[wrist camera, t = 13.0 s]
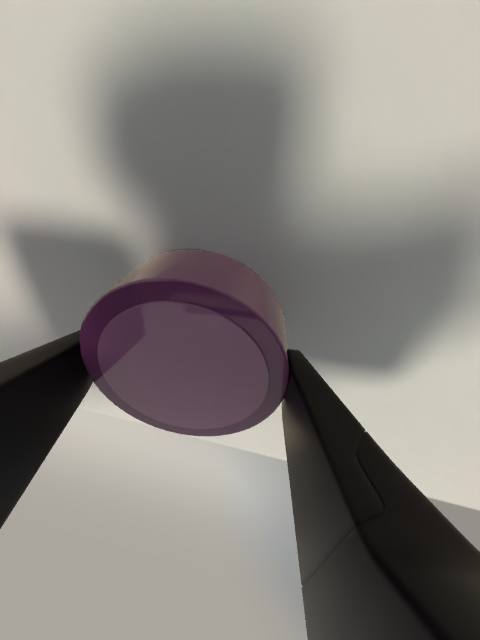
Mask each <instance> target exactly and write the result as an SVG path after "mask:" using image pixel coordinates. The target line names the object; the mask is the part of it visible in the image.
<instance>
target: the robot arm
mask: <svg viewBox="0 0 480 640" xmlns="http://www.w3.org/2000/svg"><path fill="white" fill-rule="evenodd" d="M79 338H80V331H77V332H75V333H72V334H70V335H67V336H65V337H62V338H60V339H57V340H55V341H52V342H50V343H47V344H45V345H42V346H40V347H37V348H35V349H32V350H30V351H27V352H25V353H22V354H20V355H17V356H15V357H12V358H10V359H8V360H5V361H3V362H0V529H1V527H2V526H3V524H4V522H5V521H6V519H7V518H8V516H9V515H10V513H11V511H12V510H13V508H14V507H15V505H16V504H17V502H18V500H19V499H20V497H21V496H22V494H23V493H24V491H25V489H26V488H27V486H28V485H29V483H30V482H31V480H32V478H33V477H34V475H35V474H36V472H37V471H38V469H39V467H40V466H41V464H42V463H43V461H44V460H45V458H46V456H47V455H48V453H49V452H50V450H51V449H52V447H53V445H54V444H55V442H56V441H57V439H58V438H59V436H60V434H61V433H62V431H63V430H64V428H65V427H66V425H67V423H68V422H69V420H70V419H71V417H72V416H73V414H74V412H75V411H76V409H77V408H78V406H79V405H80V403H81V401H82V400H83V398H84V397H85V395H86V393H87V392H88V390H89V388H90V387H91V385H92V383H93V380H92V379H91V377H90V376H89V374H88V372H87V370H86V367H85V365H84V362H83V359H82V357H81V353H80V345H79ZM288 357H289V368H290V376H289V381H288V386H287V390H286V393H285V396H284V398H283V400H282V419H283V428H284V437H285V446H286V454H287V463H288V472H289V480H290V488H291V498H292V506H293V515H294V523H295V532H296V541H297V549H298V558H299V567H300V575H301V584H302V586H303V587H302V593H303V602H304V610H305V620H306V628H307V637H308V640H480V552H479V551H478V550H477V549H476V548H475V547H474V546H473V545H472V544H471V543H470V542H469V541H468V540H467V539H466V538H465V537H464V536H463V535H462V534H461V533H460V532H459V531H458V530H457V529H456V528H455V527H454V526H453V524H451V522H449V521H448V519H447V518H446V517H445V516H444V515H443V514H442V513H441V512H440V511H439V510H438V509H437V508H436V507H435V506H434V505H433V504H432V503H431V502H430V501H429V500H428V499H427V498H426V497H425V496H424V495H423V493H422V492H421V491H420V490H419V489H418V488H417V487H416V486H415V485H414V484H413V483H412V482H411V481H410V480H409V479H408V478H407V477H406V476H405V475H404V474H403V472H402V471H401V470H400V469H399V468H398V467H397V466H396V465H395V464H394V463H393V462H392V461H391V459H390V458H389V457H388V456H387V455H386V454H385V453H384V451H383V450H382V449H381V448H380V447H379V446H378V444H377V443H376V442H375V441H374V440H373V438H372V437H371V436H370V435H369V434H368V432H365V429H364V428H363V427H362V425H361V424H360V423H359V422H358V421H357V419H356V418H355V417H354V416H353V414H352V413H351V412H350V411H349V410H348V408H347V407H346V406H345V405H344V404H343V402H342V401H341V400H340V399H339V398H338V396H337V395H336V394H335V393H334V392H333V390H332V389H331V388H330V387H329V386H328V384H327V383H326V382H325V381H324V380H323V378H322V377H321V376H320V375H319V374H318V372H317V371H316V370H315V369H314V367H313V366H312V365H311V364H310V363H309V361H308V360H307V359H306V358H305V357H304V355H303V354H302V353H301V352H300V351H299V350H292V349H288Z"/></svg>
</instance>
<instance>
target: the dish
mask: <svg viewBox="0 0 480 640" xmlns="http://www.w3.org/2000/svg"><path fill="white" fill-rule="evenodd" d="M79 345H80V353H81V357H82V359H83V362H84V365H85V367H86V370H87V372H88V374H89V376H90V377H91V379H92V380H93V382H94V383H95V385H96V386H97V387H98V388H99V390H100V391H101V392H102V393H103V394H104V395H105V396H106V397H107V398H108V399H109V400H110V401H112V402H113V403H114V404H115V405H116V406H118V407H119V408H120V409H122V410H123V411H125V412H126V413H128V414H130V415H131V416H133V417H135V418H136V419H138V420H140V421H143V422H145V423H147V424H149V425H152V426H154V427H157V428H160V429H163V430H166V431H170V432H174V433H179V434H185V435H193V436H221V435H227V434H232V433H236V432H240V431H243V430H246V429H249V428H251V427H253V426H255V425H257V424H259V423H260V422H262V421H263V420H265V419H266V418H267V417H269V416H270V415H271V414H272V413H273V412H274V411H275V410H276V409H277V407H278V406H279V405H280V403H281V401H282V400H283V398H284V396H285V393H286V390H287V386H288V381H289V376H290V368H289V357H288V348H287V339H286V330H285V322H284V317H283V312H282V310H281V307H280V304H279V302H278V300H277V298H276V296H275V295H274V293H273V292H272V290H271V289H270V288H269V286H268V285H267V284H266V283H265V282H264V281H263V280H262V279H261V278H260V276H259V275H257V274H256V273H255V272H253V271H252V270H251V269H250V268H248V267H247V266H245V265H243V264H242V263H240V262H238V261H236V260H234V259H232V258H230V257H227V256H225V255H222V254H218V253H215V252H211V251H205V250H199V249H181V250H172V251H168V252H164V253H161V254H158V255H156V256H153V257H151V258H149V259H148V260H146V261H144V262H143V263H141V264H140V265H139V266H137V267H136V268H135V269H134V270H133V271H131V272H130V273H129V274H128V275H126V276H125V277H124V278H123V279H122V280H120V281H119V282H118V283H117V284H115V285H114V286H113V287H112V288H110V289H109V290H108V291H107V292H106V293H104V294H103V295H102V296H101V297H100V298H99V299H97V300H96V301H95V302H94V304H93V305H92V306H91V307H90V309H89V310H88V311H87V313H86V316H85V318H84V320H83V322H82V326H81V330H80V338H79Z"/></svg>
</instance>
